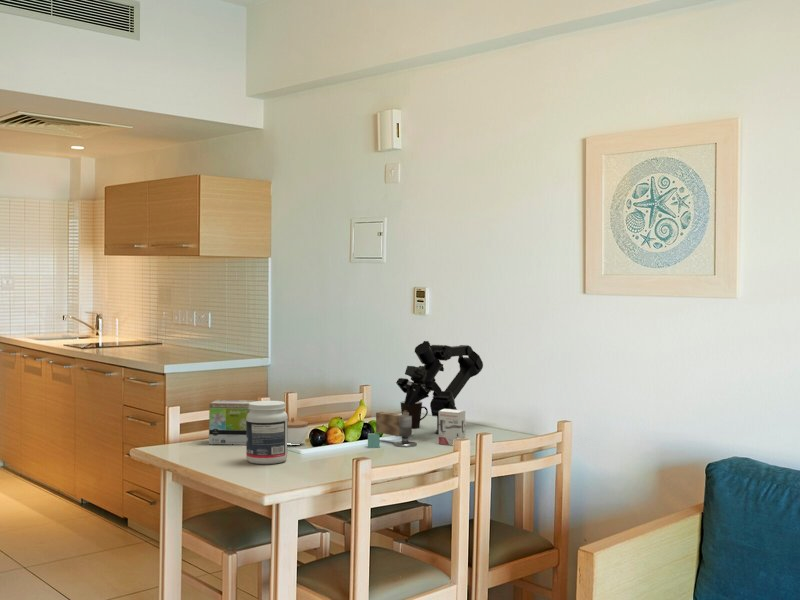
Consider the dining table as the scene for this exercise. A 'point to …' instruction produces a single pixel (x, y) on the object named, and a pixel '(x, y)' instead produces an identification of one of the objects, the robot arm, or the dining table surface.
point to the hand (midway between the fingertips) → (407, 405)
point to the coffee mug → (413, 413)
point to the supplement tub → (266, 432)
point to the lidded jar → (297, 431)
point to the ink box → (451, 425)
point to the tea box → (228, 421)
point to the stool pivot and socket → (375, 443)
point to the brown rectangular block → (394, 424)
